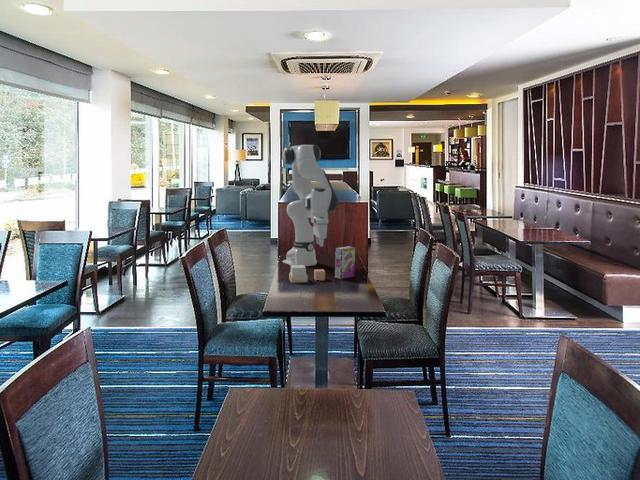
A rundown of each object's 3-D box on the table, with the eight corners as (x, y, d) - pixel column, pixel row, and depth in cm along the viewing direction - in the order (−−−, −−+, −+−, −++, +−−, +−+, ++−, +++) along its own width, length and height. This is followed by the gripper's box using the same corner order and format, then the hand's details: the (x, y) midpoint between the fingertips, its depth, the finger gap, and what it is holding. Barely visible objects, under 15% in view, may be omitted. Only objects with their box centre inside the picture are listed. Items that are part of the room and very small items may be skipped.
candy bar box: (341, 279, 298) (341, 249, 295) (334, 278, 301) (334, 248, 299) (355, 276, 305) (355, 246, 303) (348, 275, 309) (348, 245, 307)
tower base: (289, 280, 299) (289, 272, 298) (305, 279, 300) (305, 272, 300) (291, 283, 290) (291, 275, 290) (307, 282, 292) (307, 275, 291)
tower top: (290, 272, 298) (290, 265, 297) (303, 272, 299) (303, 264, 298) (292, 275, 291) (292, 267, 290) (305, 275, 292) (305, 267, 292)
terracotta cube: (314, 278, 300) (314, 269, 300) (323, 278, 301) (323, 269, 301) (315, 280, 296) (315, 271, 295) (325, 280, 296) (325, 271, 296)
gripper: (310, 217, 303) (310, 242, 305) (316, 220, 283) (317, 248, 285) (321, 216, 304) (322, 242, 306) (329, 220, 284) (329, 247, 286)
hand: (319, 245), depth 296 cm, fingers open, 8 cm apart
